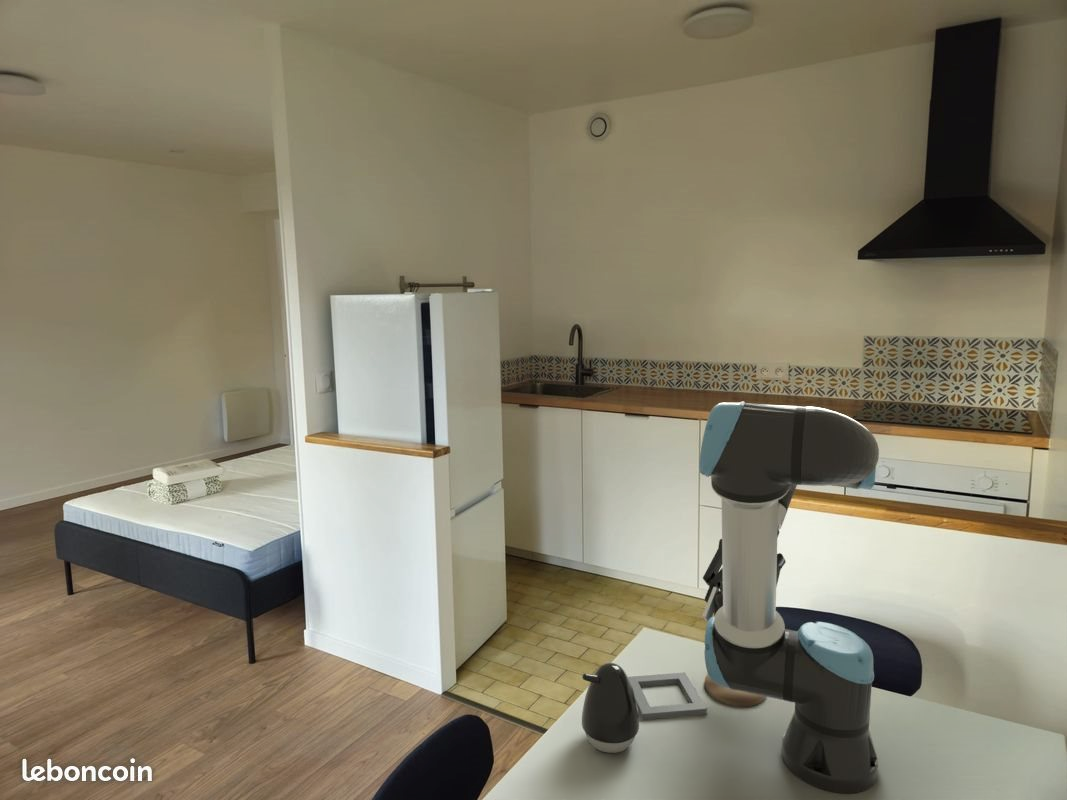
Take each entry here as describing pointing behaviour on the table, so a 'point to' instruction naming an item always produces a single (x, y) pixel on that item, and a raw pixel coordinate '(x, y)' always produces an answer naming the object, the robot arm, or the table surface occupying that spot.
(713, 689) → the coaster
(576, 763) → the table surface
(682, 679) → the grey flat square frame
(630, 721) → the pump dispenser
